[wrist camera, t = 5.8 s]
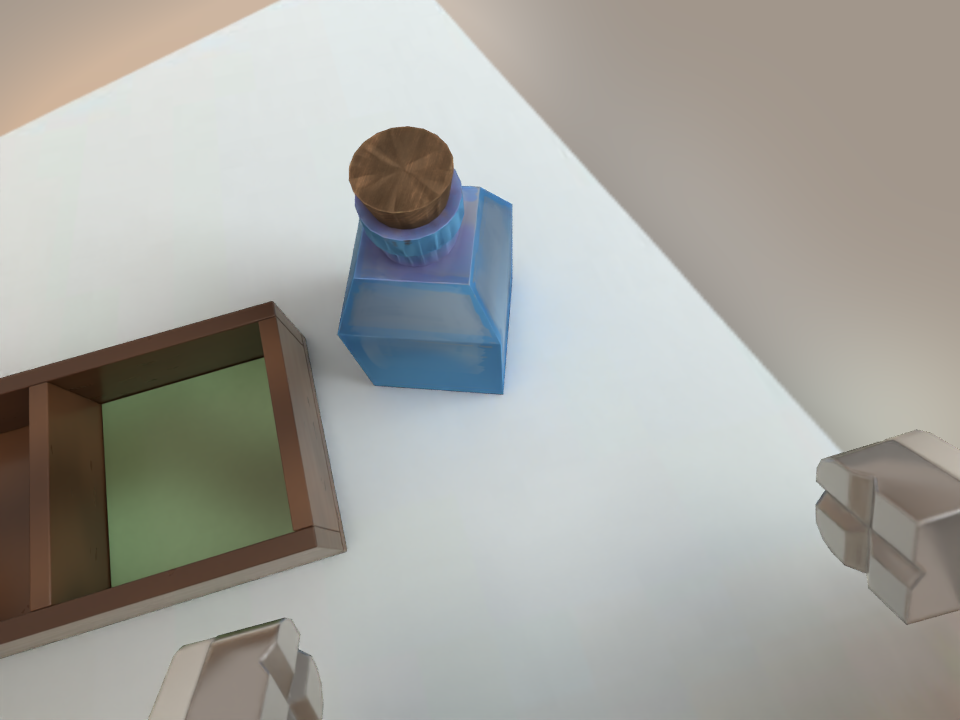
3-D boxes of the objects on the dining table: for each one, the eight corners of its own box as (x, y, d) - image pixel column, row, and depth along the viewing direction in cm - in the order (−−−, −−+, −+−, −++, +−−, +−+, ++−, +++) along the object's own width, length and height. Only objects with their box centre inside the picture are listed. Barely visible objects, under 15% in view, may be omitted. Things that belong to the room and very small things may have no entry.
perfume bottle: (392, 271, 30) (319, 86, 18) (512, 278, 29) (512, 91, 18) (374, 385, 27) (278, 253, 16) (503, 394, 27) (496, 264, 16)
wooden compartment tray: (347, 551, 25) (317, 546, 21) (-129, 698, 24) (-253, 722, 20) (305, 336, 28) (273, 299, 25) (-108, 456, 27) (-209, 436, 24)
